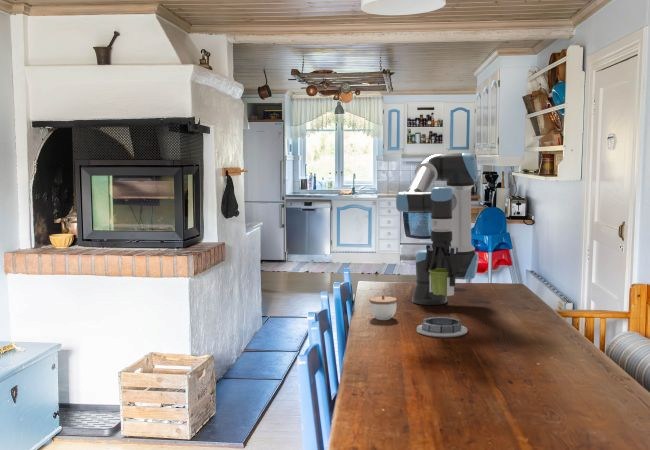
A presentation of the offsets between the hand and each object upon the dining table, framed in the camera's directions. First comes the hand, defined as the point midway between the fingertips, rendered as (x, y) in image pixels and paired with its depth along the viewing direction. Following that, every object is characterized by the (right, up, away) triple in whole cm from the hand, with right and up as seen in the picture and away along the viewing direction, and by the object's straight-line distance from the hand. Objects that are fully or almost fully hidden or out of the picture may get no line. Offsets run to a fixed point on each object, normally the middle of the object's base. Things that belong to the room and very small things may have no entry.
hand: (441, 293), depth 242 cm
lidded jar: (-19, -12, +23) cm, 33 cm away
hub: (0, -14, +1) cm, 14 cm away
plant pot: (0, -1, 0) cm, 1 cm away
